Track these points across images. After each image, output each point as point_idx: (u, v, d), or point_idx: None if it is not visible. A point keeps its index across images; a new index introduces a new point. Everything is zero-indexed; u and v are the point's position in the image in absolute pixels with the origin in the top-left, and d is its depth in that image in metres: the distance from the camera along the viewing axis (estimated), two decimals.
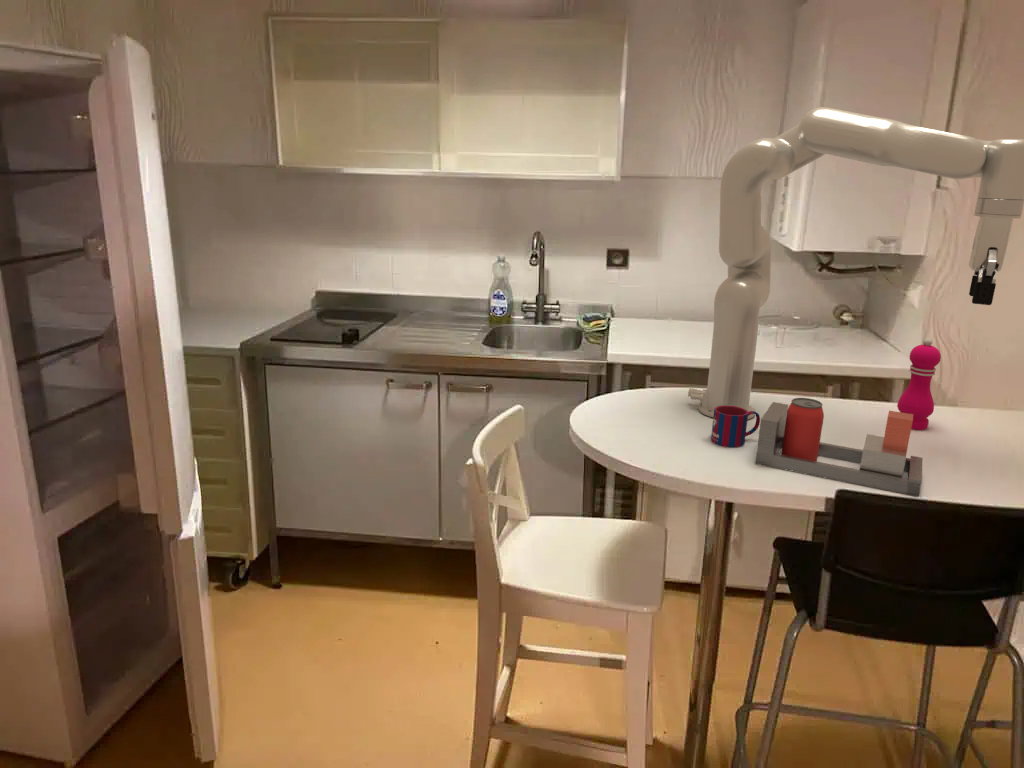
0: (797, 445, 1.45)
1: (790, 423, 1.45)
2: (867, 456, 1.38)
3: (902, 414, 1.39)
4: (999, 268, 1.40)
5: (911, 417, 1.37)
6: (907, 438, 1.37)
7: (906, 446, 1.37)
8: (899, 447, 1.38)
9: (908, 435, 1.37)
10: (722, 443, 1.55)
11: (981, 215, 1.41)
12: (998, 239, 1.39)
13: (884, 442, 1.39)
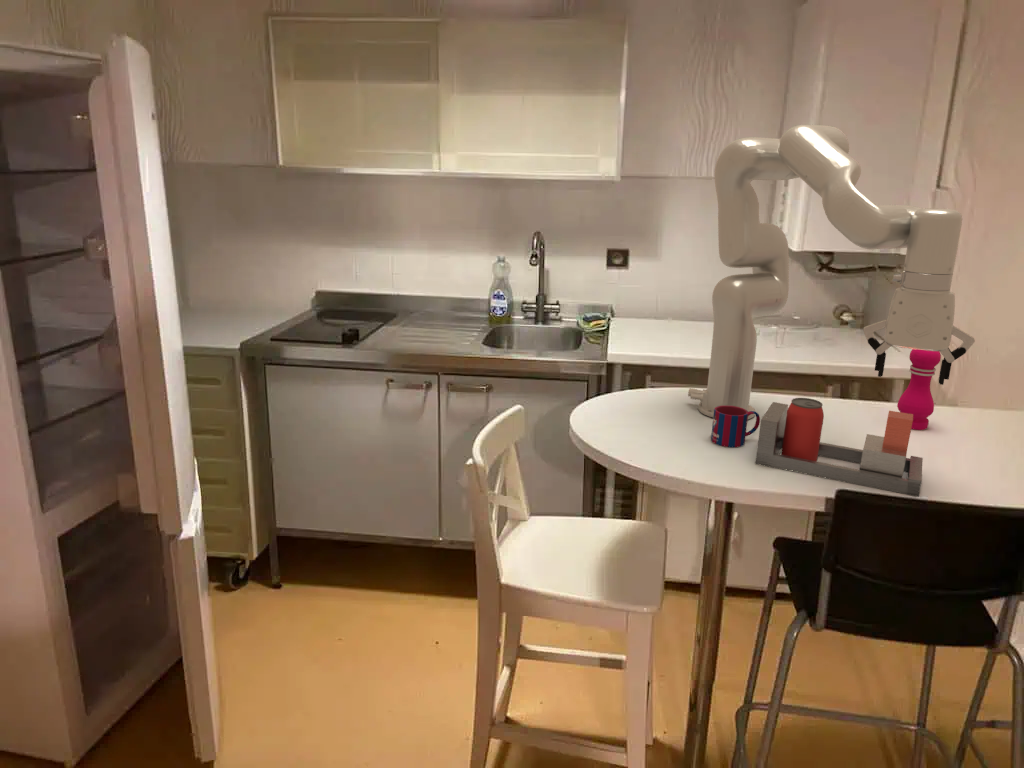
0: (797, 445, 1.45)
1: (790, 423, 1.45)
2: (867, 456, 1.38)
3: (902, 414, 1.39)
4: None
5: (911, 417, 1.37)
6: (907, 438, 1.37)
7: (906, 446, 1.37)
8: (899, 447, 1.38)
9: (908, 435, 1.37)
10: (722, 443, 1.55)
11: (942, 293, 1.28)
12: None
13: (884, 442, 1.39)
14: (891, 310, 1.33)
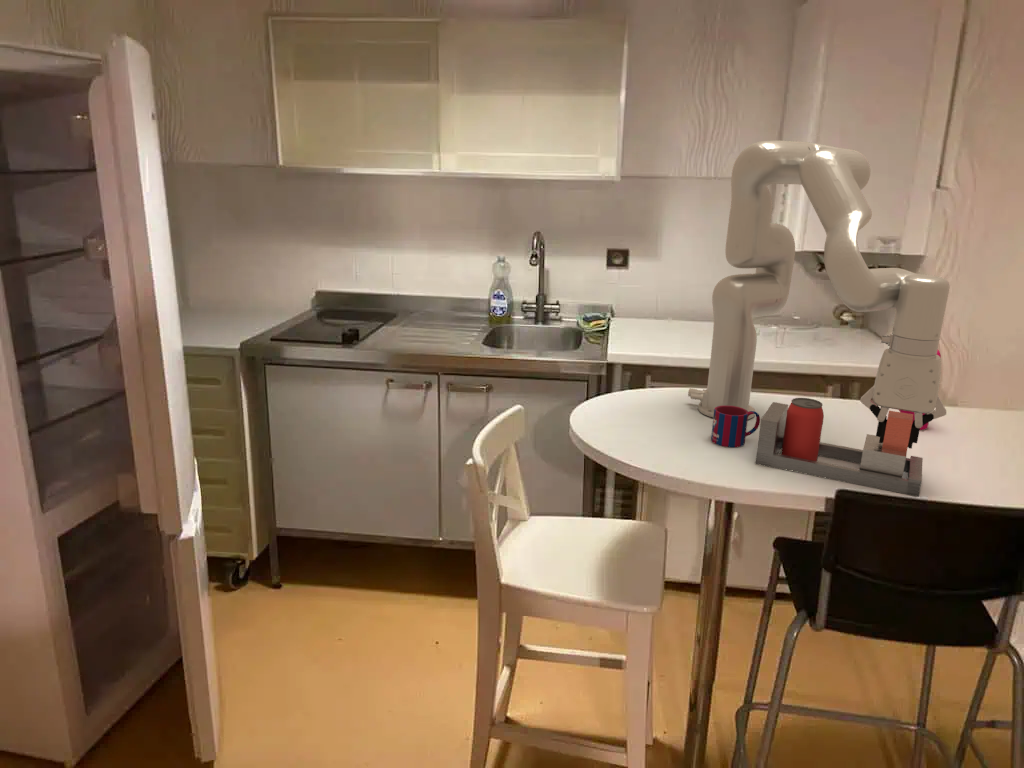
0: (797, 445, 1.45)
1: (790, 423, 1.45)
2: (867, 456, 1.38)
3: (902, 414, 1.39)
4: None
5: (911, 417, 1.37)
6: (907, 438, 1.37)
7: (906, 446, 1.37)
8: (899, 447, 1.38)
9: (908, 435, 1.37)
10: (722, 443, 1.55)
11: (928, 358, 1.31)
12: None
13: (884, 442, 1.39)
14: (879, 372, 1.36)
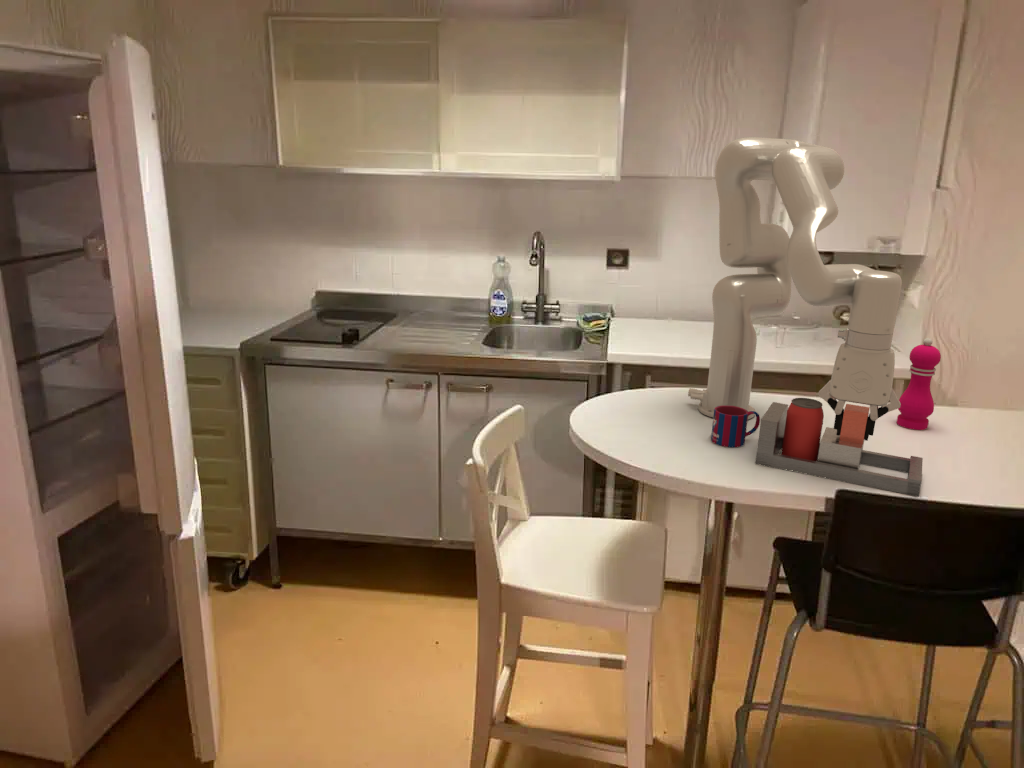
0: (797, 445, 1.45)
1: (790, 423, 1.45)
2: (824, 448, 1.42)
3: (859, 407, 1.42)
4: None
5: (867, 410, 1.41)
6: (863, 430, 1.40)
7: (862, 438, 1.40)
8: (855, 439, 1.41)
9: (864, 427, 1.40)
10: (722, 443, 1.55)
11: (882, 351, 1.35)
12: None
13: (841, 434, 1.42)
14: (835, 365, 1.39)
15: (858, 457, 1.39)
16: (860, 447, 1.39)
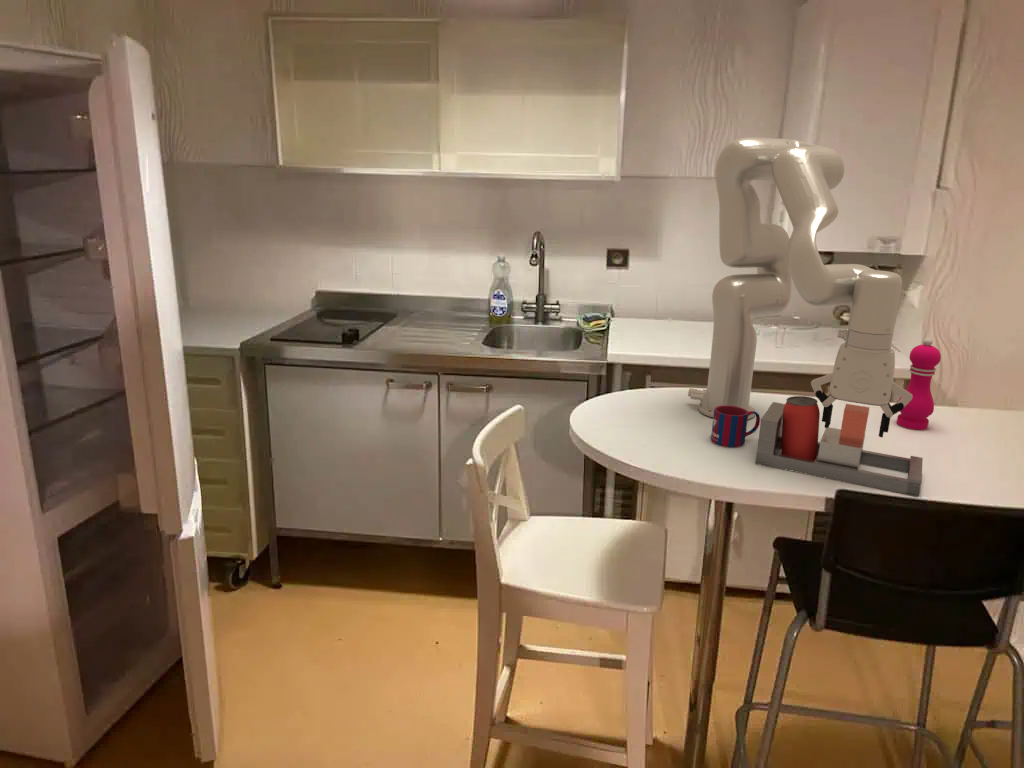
0: (795, 443, 1.45)
1: (787, 422, 1.46)
2: (824, 448, 1.42)
3: (858, 407, 1.42)
4: None
5: (867, 410, 1.41)
6: (863, 430, 1.40)
7: (862, 438, 1.40)
8: (855, 439, 1.41)
9: (864, 427, 1.40)
10: (722, 443, 1.55)
11: (882, 351, 1.35)
12: None
13: (841, 434, 1.42)
14: (835, 365, 1.39)
15: (858, 457, 1.39)
16: (860, 447, 1.39)
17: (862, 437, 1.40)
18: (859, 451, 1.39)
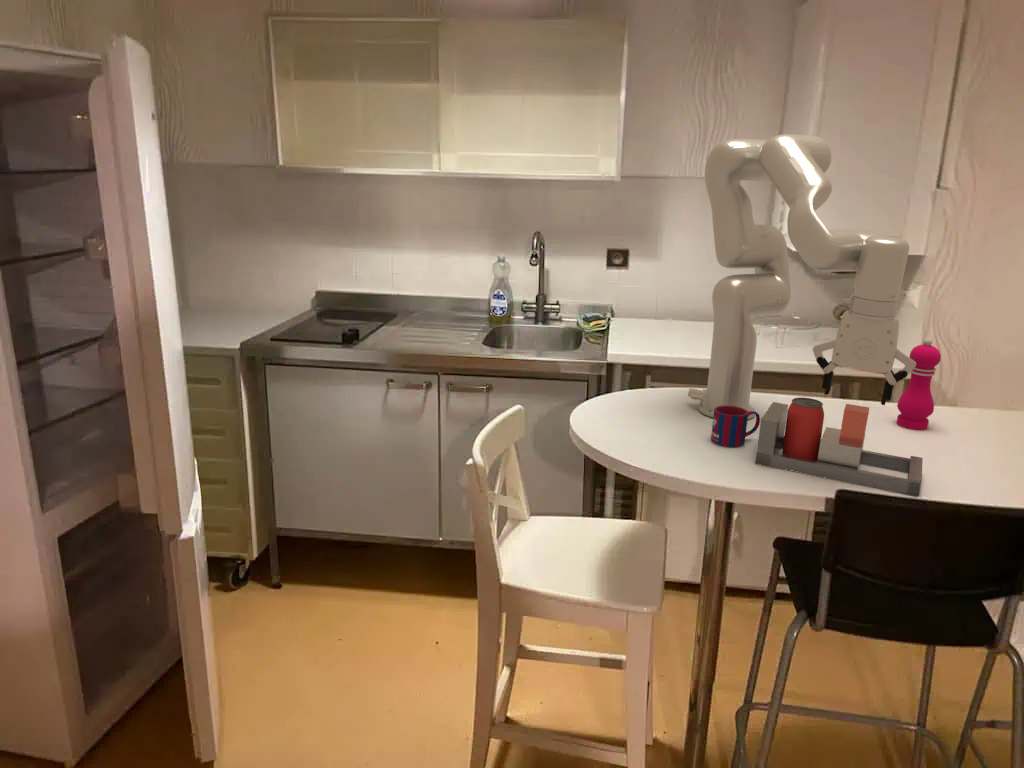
0: (798, 445, 1.45)
1: (791, 423, 1.45)
2: (824, 448, 1.42)
3: (858, 407, 1.42)
4: None
5: (867, 410, 1.41)
6: (863, 430, 1.40)
7: (862, 438, 1.40)
8: (855, 439, 1.41)
9: (864, 427, 1.40)
10: (722, 443, 1.55)
11: (886, 319, 1.33)
12: None
13: (841, 434, 1.42)
14: (839, 332, 1.38)
15: (858, 457, 1.39)
16: (860, 447, 1.39)
17: (862, 437, 1.40)
18: (859, 451, 1.39)
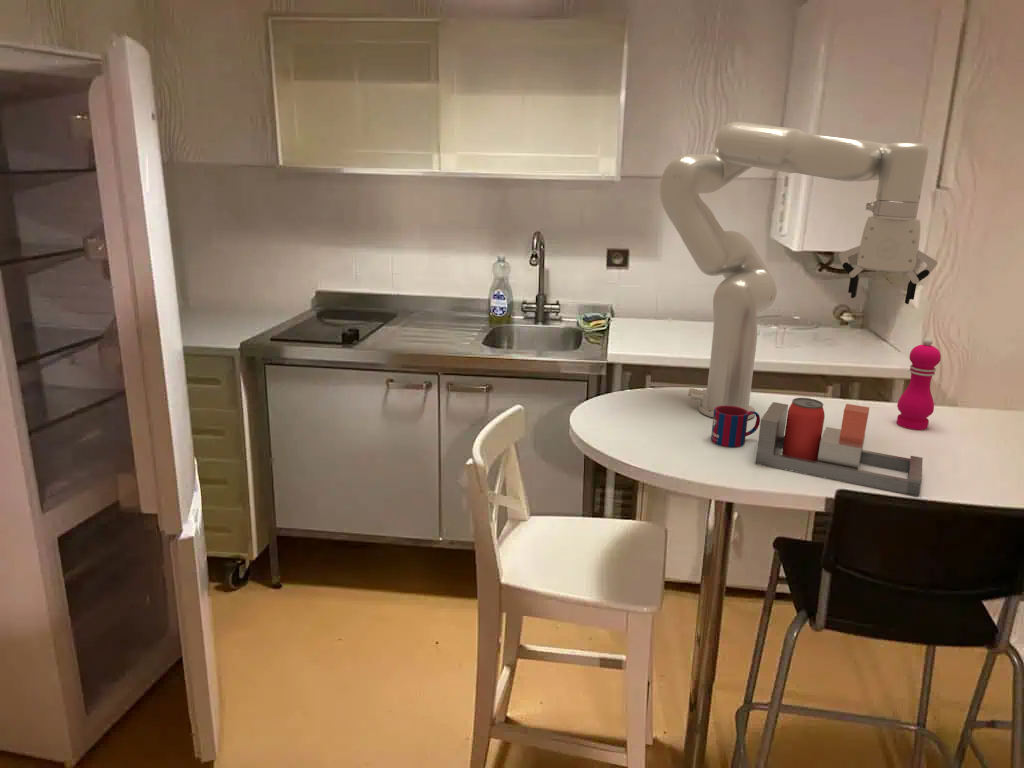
0: (798, 445, 1.45)
1: (791, 423, 1.45)
2: (824, 448, 1.42)
3: (858, 407, 1.42)
4: None
5: (867, 410, 1.41)
6: (863, 430, 1.40)
7: (862, 438, 1.40)
8: (855, 439, 1.41)
9: (864, 427, 1.40)
10: (722, 443, 1.55)
11: (908, 219, 1.42)
12: None
13: (841, 434, 1.42)
14: (863, 236, 1.47)
15: (858, 457, 1.39)
16: (860, 447, 1.39)
17: (862, 437, 1.40)
18: (859, 451, 1.39)
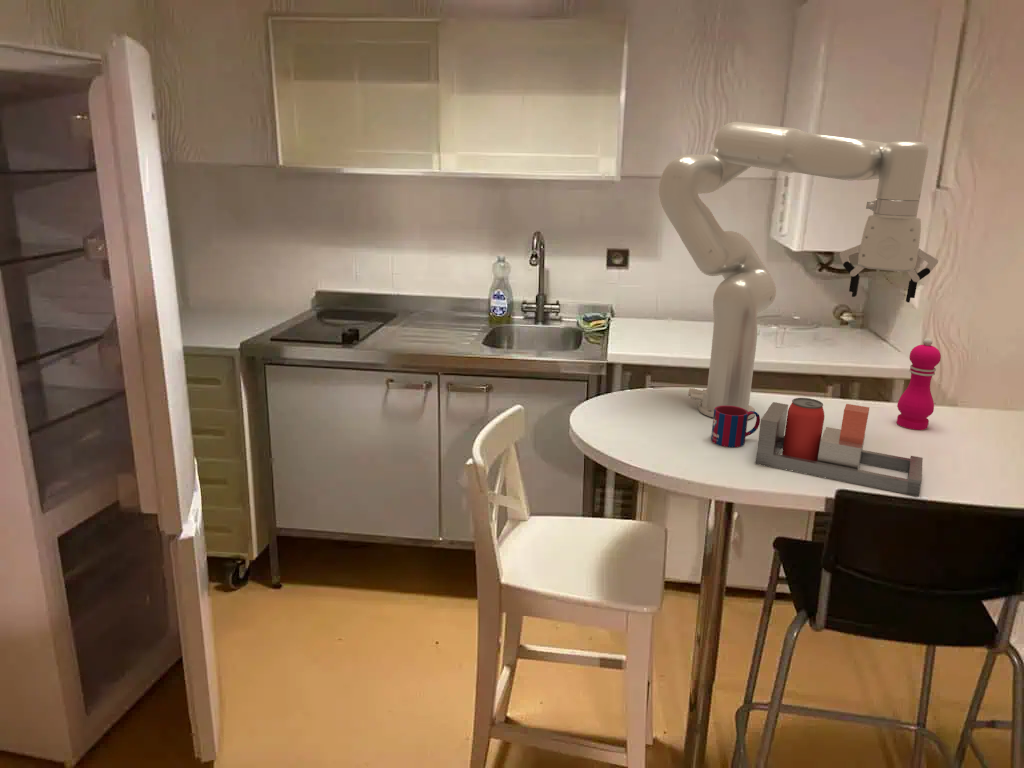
0: (798, 445, 1.45)
1: (791, 423, 1.45)
2: (824, 448, 1.42)
3: (858, 407, 1.42)
4: None
5: (867, 410, 1.41)
6: (863, 430, 1.40)
7: (862, 438, 1.40)
8: (855, 439, 1.41)
9: (864, 427, 1.40)
10: (722, 443, 1.55)
11: (909, 217, 1.43)
12: None
13: (841, 434, 1.42)
14: (864, 235, 1.47)
15: (858, 457, 1.39)
16: (860, 447, 1.39)
17: (862, 437, 1.40)
18: (859, 451, 1.39)
